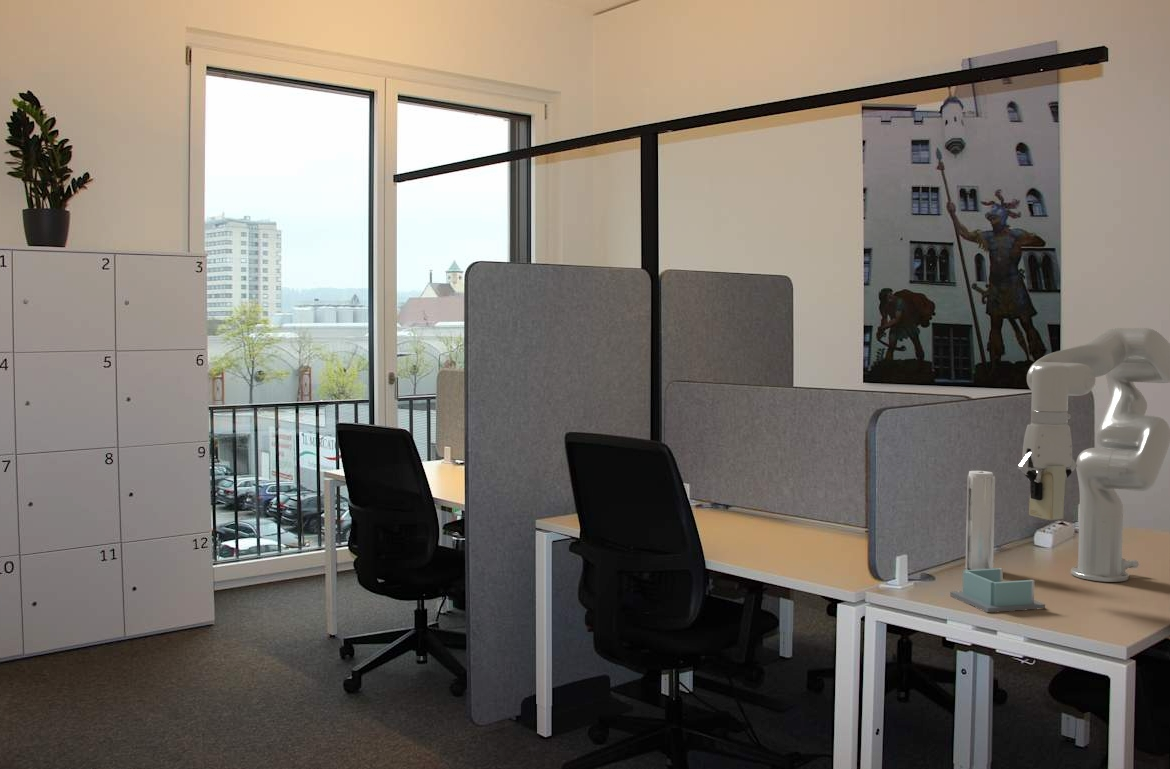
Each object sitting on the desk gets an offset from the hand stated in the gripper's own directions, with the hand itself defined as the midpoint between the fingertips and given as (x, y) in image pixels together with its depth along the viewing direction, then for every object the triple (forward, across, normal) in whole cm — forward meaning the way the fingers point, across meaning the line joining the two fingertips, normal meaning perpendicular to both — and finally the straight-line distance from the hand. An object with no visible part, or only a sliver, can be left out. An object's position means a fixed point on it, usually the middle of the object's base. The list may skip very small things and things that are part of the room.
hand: (1047, 498), depth 227 cm
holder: (+22, +14, +3) cm, 27 cm away
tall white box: (+22, 0, -24) cm, 33 cm away
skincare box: (+5, 0, 0) cm, 5 cm away
